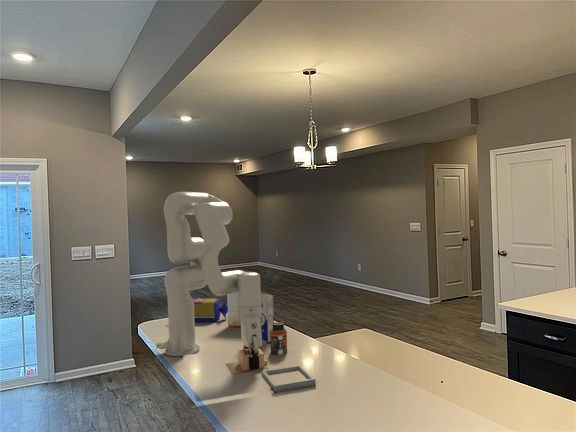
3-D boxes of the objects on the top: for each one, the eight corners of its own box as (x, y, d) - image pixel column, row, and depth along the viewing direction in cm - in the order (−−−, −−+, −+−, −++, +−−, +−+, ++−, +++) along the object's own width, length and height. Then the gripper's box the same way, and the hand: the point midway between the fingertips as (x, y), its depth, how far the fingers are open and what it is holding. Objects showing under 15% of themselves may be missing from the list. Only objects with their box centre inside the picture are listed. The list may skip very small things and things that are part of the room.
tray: (274, 393, 116) (274, 386, 116) (262, 377, 128) (261, 370, 128) (315, 385, 120) (315, 379, 120) (300, 371, 132) (299, 364, 132)
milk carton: (251, 344, 162) (249, 293, 162) (259, 339, 168) (257, 290, 169) (267, 345, 160) (266, 293, 160) (274, 340, 166) (273, 290, 166)
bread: (182, 318, 210) (181, 297, 210) (230, 317, 207) (229, 297, 207) (174, 323, 200) (174, 301, 200) (225, 322, 197) (224, 301, 197)
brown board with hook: (231, 377, 128) (231, 356, 128) (225, 366, 138) (225, 347, 138) (268, 371, 132) (268, 351, 132) (260, 361, 142) (259, 342, 142)
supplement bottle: (285, 358, 145) (284, 325, 145) (268, 357, 146) (268, 325, 146) (288, 352, 151) (287, 321, 151) (272, 352, 152) (272, 321, 152)
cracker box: (261, 325, 191) (259, 279, 191) (255, 328, 185) (254, 281, 185) (233, 323, 195) (232, 279, 195) (227, 326, 190) (226, 281, 190)
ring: (243, 370, 131) (242, 356, 131) (238, 363, 138) (238, 350, 138) (269, 366, 134) (268, 352, 134) (263, 359, 141) (262, 346, 141)
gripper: (268, 314, 129) (269, 372, 129) (254, 304, 145) (255, 355, 145) (244, 317, 126) (246, 375, 126) (232, 306, 143) (234, 358, 143)
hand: (251, 364), depth 136 cm, fingers closed on ring, 7 cm apart
